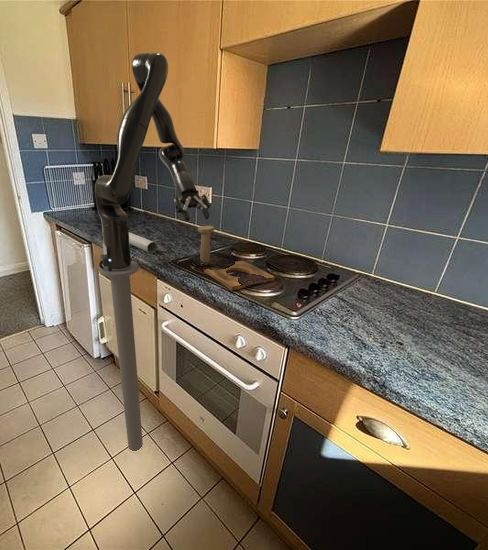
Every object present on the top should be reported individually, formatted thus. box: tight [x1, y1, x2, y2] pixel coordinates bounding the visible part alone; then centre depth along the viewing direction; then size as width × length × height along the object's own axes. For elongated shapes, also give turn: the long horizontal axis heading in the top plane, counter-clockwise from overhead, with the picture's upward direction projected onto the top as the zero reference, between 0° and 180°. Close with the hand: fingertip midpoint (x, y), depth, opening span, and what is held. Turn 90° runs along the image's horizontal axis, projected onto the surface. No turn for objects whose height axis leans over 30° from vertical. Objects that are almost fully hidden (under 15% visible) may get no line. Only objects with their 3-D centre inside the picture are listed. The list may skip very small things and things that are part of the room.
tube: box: [129, 231, 158, 255], centre depth 138 cm, size 5×5×25 cm
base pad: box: [203, 260, 275, 292], centre depth 108 cm, size 18×18×2 cm
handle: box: [197, 225, 215, 266], centre depth 116 cm, size 5×6×15 cm
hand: (198, 219), depth 117 cm, fingers open, 8 cm apart
